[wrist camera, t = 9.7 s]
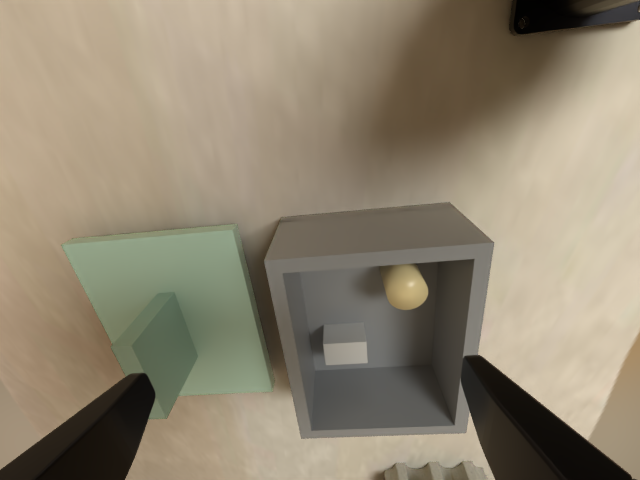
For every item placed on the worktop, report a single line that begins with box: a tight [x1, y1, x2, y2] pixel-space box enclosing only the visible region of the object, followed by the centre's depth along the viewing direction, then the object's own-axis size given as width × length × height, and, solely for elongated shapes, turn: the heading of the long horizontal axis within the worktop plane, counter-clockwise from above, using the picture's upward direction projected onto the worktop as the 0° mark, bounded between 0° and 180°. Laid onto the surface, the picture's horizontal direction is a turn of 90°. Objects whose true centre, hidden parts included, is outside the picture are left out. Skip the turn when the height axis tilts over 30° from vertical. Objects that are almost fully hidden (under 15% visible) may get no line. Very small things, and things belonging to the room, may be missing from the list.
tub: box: [264, 202, 494, 439], centre depth 20 cm, size 11×14×6 cm
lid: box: [61, 224, 275, 419], centre depth 21 cm, size 11×14×7 cm
